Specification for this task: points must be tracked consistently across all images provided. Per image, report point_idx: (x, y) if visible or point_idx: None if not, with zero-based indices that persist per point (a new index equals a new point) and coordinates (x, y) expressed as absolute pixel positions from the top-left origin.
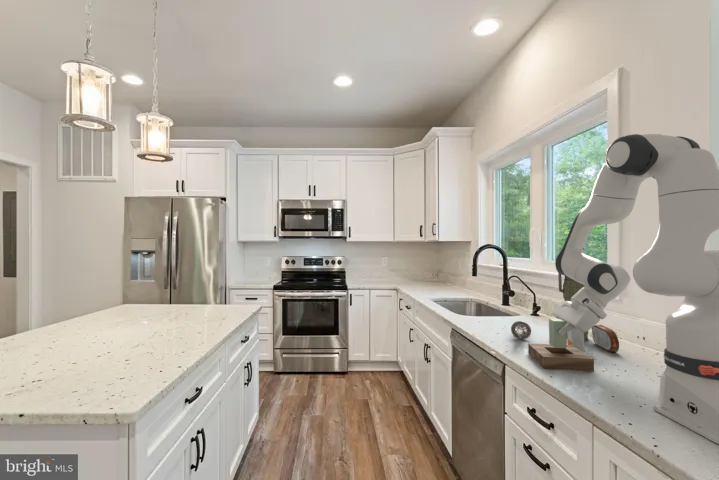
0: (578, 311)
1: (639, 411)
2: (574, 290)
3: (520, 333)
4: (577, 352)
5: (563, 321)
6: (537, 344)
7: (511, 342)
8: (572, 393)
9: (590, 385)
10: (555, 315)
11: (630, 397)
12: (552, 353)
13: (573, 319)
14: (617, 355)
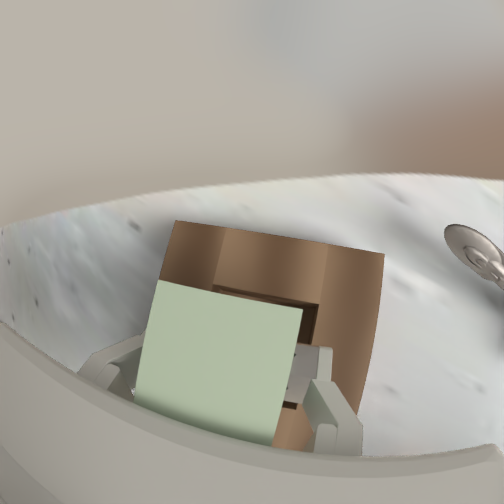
0: (7, 490)
1: (6, 297)
2: None
3: (474, 251)
4: None
5: (137, 386)
6: (367, 295)
7: None
8: (59, 224)
9: (74, 298)
10: (405, 456)
11: (30, 335)
12: (210, 286)
13: (11, 374)
14: None
